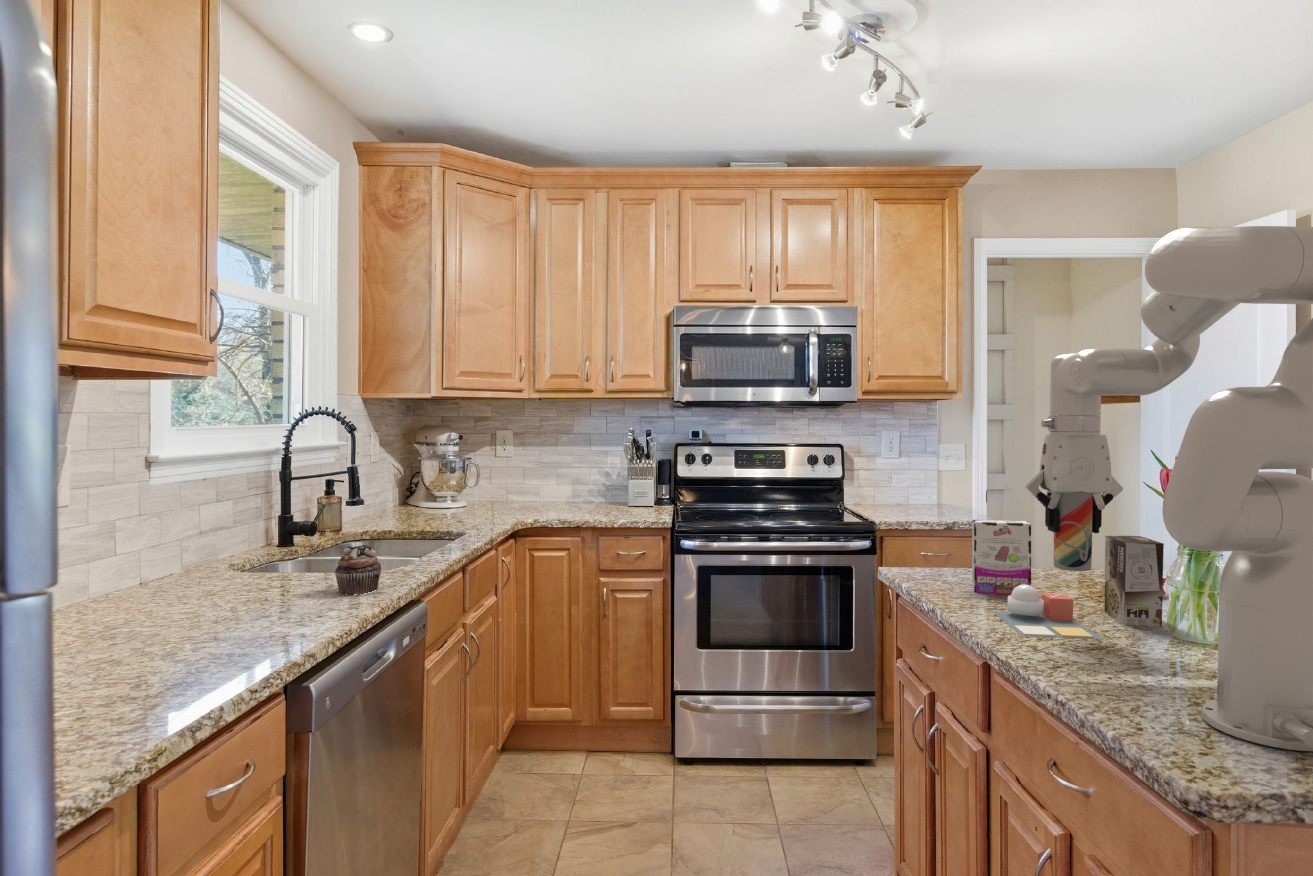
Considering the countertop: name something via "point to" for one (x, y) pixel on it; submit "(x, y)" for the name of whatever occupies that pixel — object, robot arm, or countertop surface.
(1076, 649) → the countertop surface
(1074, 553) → the lotion bottle
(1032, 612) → the dome
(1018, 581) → the candy bar box
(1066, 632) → the pad
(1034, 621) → the game board
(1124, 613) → the coffee box
